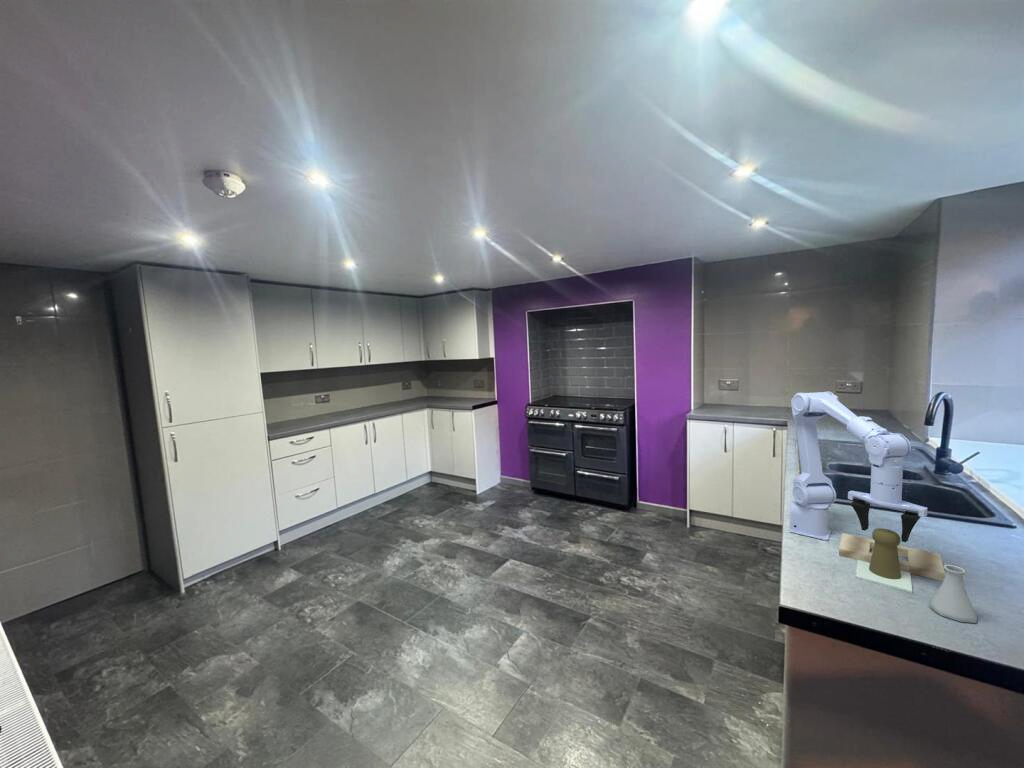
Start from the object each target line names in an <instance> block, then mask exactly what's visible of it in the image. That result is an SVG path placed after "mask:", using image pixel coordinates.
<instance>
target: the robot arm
mask: <svg viewBox="0 0 1024 768" xmlns="http://www.w3.org/2000/svg"><path fill="white" fill-rule="evenodd" d="M790 405H791V413H792V419H793V420H794V428H795V433H796V434H795V436H796V443H797V449H798V458H799V464H800V474H798V475H797V476H796V477H795V478H794V479H793V480H792V481H793V487H792V496H793V499H794V500H795V501H794V500H793V501H792V502H791V504H790V521H789V524H790V527H789V532H790V533H792V534H797V535H801V536H806V537H809V538H815V539H819V540H823V541H829V538H830V535H831V533H832V532H831V529H829V508H831V507H832V504H834V503H835V502H836V500H837V492H836V490H835V487H834V486H833V482H832V479H830V478H829V477H828V476H826V475H825V474H824V473H823V466H822V460H821V458H822V457H821V452H820V443H819V438H818V431H817V423H818V421H819V420H820V419H821V418H823V417H826V416H827V415H829V416H830V417H832V418H834V419H835V420H837V422H840V423H841V424H843V425H844V426H846V431H847V433H848V434H850V435H851V436H852V437H854V438H855V439H856V440H858V441H859V442H860V443H861V444H863V445H864V447H865V451H866V453H867V455H868V461H869V463H870V464H871V466H870V467H871V468H870V491H869V492H870V493H867V492H863V491H862V492H861V491H855V490H850V491H848V492H847V499H848V500H850V501H852V502H851V503H850V505H851V507H852V508H853V510H854V512H855V513H856V515H857V518H858V521H859V524H860V528H861V531H865V532H866V531H867V530H868V529H869V522H870V521H869V519H870V518H869V514H870V507H871V505H875V506H879V507H884V508H888V509H891V510H896V511H899V512H900V511H901V512H904V513H902V514H901V515H900V518H901V536H900V542H903V543H907V542H908V541H909V537H910V535H911V533H912V530H913V528H914V527H915V525H916V524H917V522H919V520H920V518H925V517H927V516H928V507H925V506H922V505H918V504H915V503H912V502H908V501H905V500H902V499H903V497H902V495H903V494H902V493H903V476H904V475H903V474H904V473H903V472H904V458H905V457H907V456H908V455H909V454H910V453H911V450H912V446H911V445H912V444H911V443H910V441H909V439H908V438H907V437H906V436H905V435H903V433H893V432H890V431H888V429H886V428H884V427H882V426H881V425H879V424H878V423H876V422H874V421H873V418H872V417H869V416H865V415H864V416H858V415H857V414H855V413H854V412H853V411H851V410H850V409H849V408H847V407H846V406H845V405H844V404H842V402H840V400H839V396H838V395H836V394H834V393H833V392H831V391H824V392H823V391H819V392H797V393H796V394H794V396H793V397H792V398H791V400H790Z"/></svg>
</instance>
